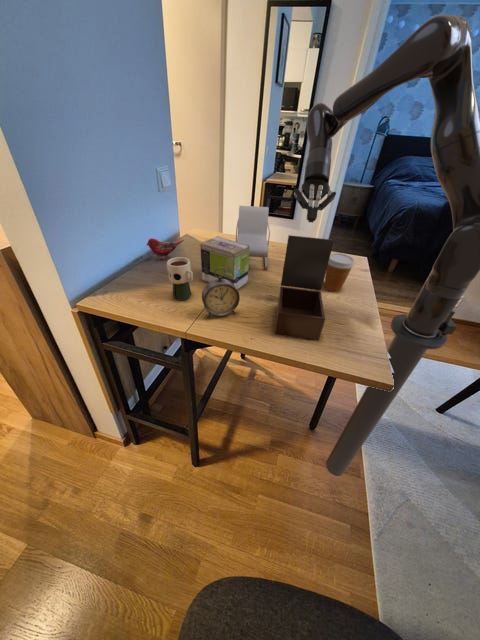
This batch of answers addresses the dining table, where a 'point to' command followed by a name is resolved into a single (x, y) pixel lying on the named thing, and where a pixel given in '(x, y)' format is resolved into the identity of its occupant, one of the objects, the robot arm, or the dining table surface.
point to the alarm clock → (220, 296)
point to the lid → (306, 262)
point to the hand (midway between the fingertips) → (311, 221)
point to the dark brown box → (299, 313)
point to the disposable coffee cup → (337, 271)
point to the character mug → (180, 277)
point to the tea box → (225, 260)
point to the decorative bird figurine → (162, 247)
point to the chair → (254, 230)
